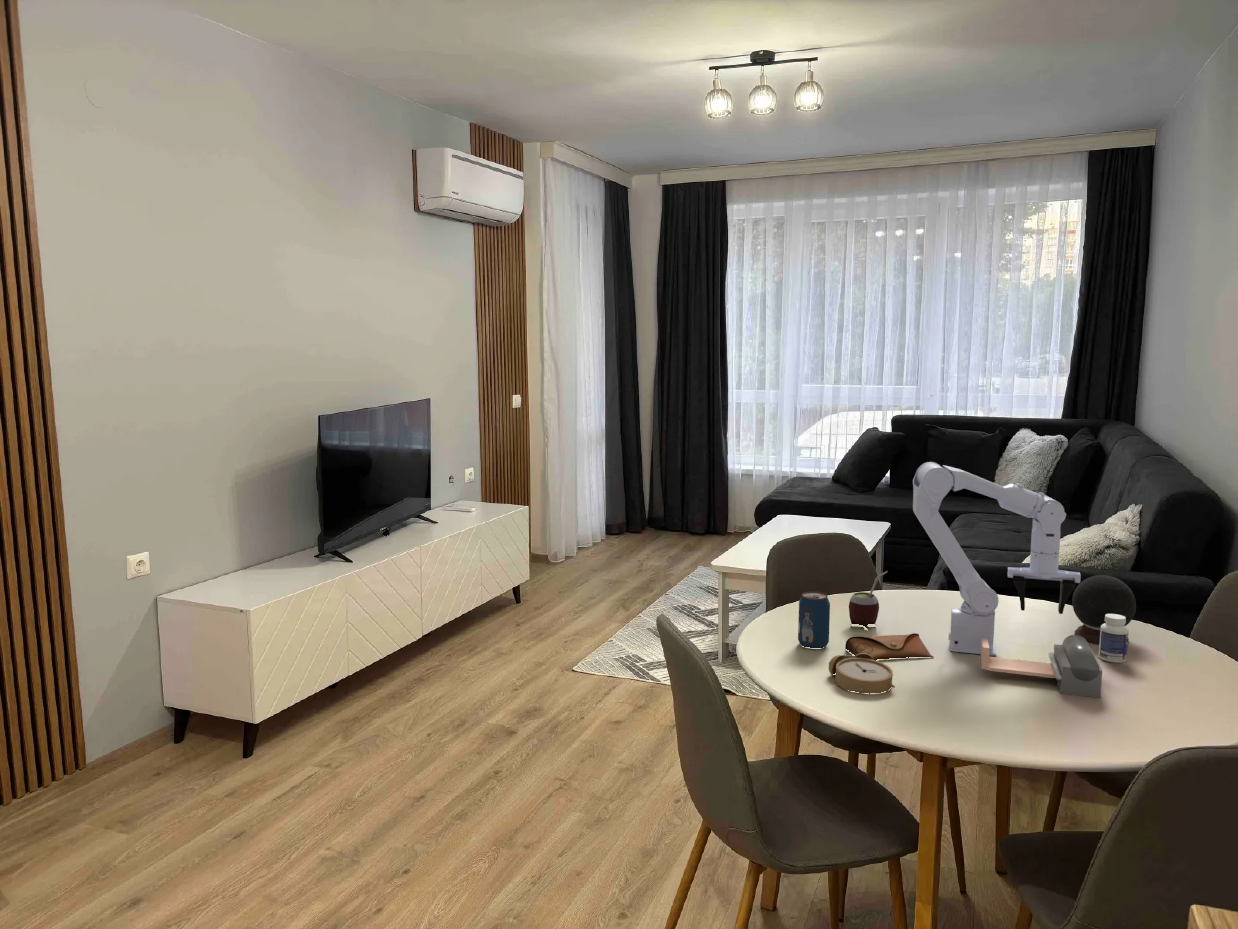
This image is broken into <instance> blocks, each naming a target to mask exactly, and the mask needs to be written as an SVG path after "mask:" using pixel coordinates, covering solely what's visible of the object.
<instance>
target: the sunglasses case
mask: <svg viewBox="0 0 1238 929" xmlns="http://www.w3.org/2000/svg"><path fill="white" fill-rule="evenodd" d="M844 647H845V650H846V649H847V650H849V652H851V653H852V654H854V655H855V656H856V655H857V654H859V653H866V654H869V655H870V656H871V657H872V658H873V659H874V660H877V659H889V658H906V657H908V658H909V657H934V656H933V655H931V653H930V651H929V650H928V649H927V648H928V647H926V645H925V644H924V643H923V640H922V638H920V634H919V633H915V632H914V633H913V632H912V633H909V634H891V635H890V634H889V635H887V634H886V635H873V636H863V635H861V636H860V635H858V636H850V637H849V638H848V639H846V641H845V646H844Z"/></svg>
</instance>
